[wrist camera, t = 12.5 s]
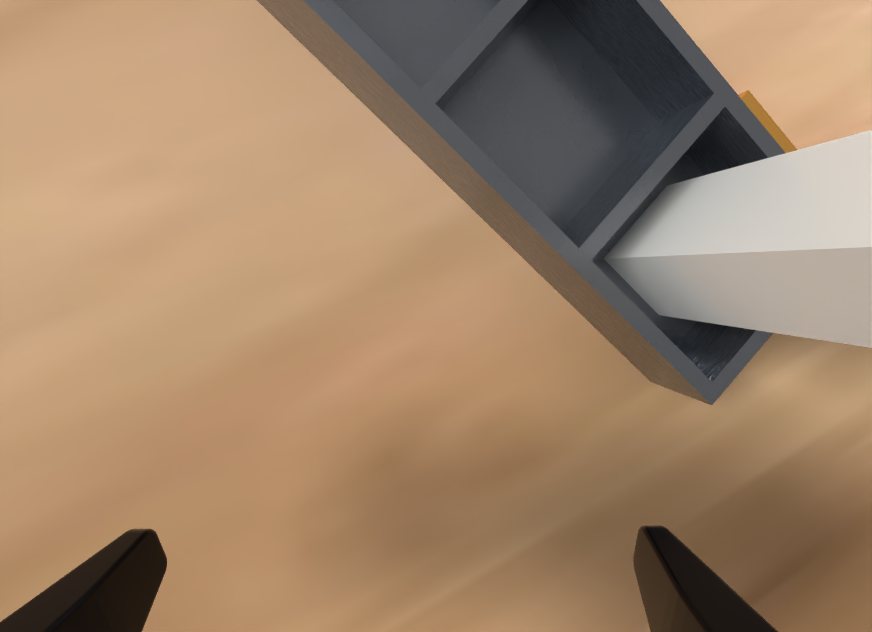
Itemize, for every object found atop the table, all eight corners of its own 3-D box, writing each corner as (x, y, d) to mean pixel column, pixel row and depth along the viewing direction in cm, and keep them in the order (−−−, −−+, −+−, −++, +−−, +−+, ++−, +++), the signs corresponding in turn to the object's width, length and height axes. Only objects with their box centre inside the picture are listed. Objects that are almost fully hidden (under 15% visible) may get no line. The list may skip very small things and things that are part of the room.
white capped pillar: (659, 316, 19) (1386, 433, 6) (602, 258, 19) (1269, 229, 5) (721, 244, 20) (1579, 184, 6) (667, 183, 19) (1491, -46, 5)
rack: (775, 235, 21) (861, 228, 17) (650, 381, 20) (711, 405, 17) (408, -186, 17) (422, -310, 13) (246, -10, 16) (214, -88, 13)
